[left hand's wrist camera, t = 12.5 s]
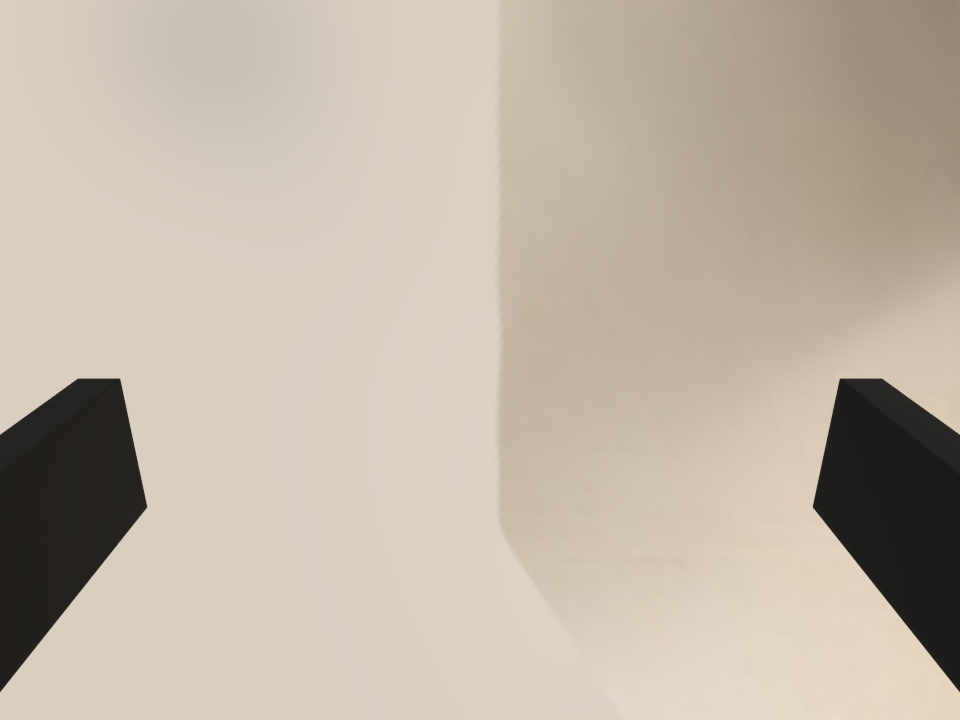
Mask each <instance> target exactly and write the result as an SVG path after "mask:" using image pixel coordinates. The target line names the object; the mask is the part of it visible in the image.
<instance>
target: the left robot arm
mask: <svg viewBox="0 0 960 720" xmlns="http://www.w3.org/2000/svg"><path fill="white" fill-rule="evenodd" d="M146 508H147V504H146V499H145V494H144V490H143V485H142V480H141V475H140V471H139V466H138V461H137V457H136V452H135V447H134V442H133V437H132V433H131V428H130V423H129V418H128V414H127V409H126V404H125V400H124V395H123V390H122V385H121V381H120V379H77V380H76V381H74V382H73V383H71V384H70V385H69V386H67V387H66V388H64V389H63V390H62V391H60V392H59V393H57V394H56V395H55V396H53V397H52V398H51V399H49V400H48V401H46V402H45V403H44V404H42V405H41V406H39V407H38V408H37V409H35V410H34V411H33V412H31V413H30V414H28V415H27V416H26V417H24V418H23V419H21V420H20V421H19V422H17V423H16V424H15V425H13V426H12V427H10V428H9V429H8V430H6V431H5V432H3V433H2V434H1V435H0V692H1V690H2V689H3V688H4V687H5V685H6V684H7V683H8V682H9V680H10V679H11V678H12V677H13V675H14V674H15V673H16V672H17V670H18V669H19V668H20V667H21V665H22V664H23V663H24V661H25V660H26V659H27V658H28V656H29V655H30V654H31V653H32V651H33V650H34V649H35V648H36V646H37V645H38V644H39V643H40V641H41V640H42V639H43V638H44V636H45V635H46V634H47V633H48V631H49V630H50V629H51V628H52V626H53V625H54V624H55V622H56V621H57V620H58V619H59V617H60V616H61V615H62V614H63V612H64V611H65V610H66V609H67V607H68V606H69V605H70V604H71V602H72V601H73V600H74V599H75V597H76V596H77V595H78V594H79V592H80V591H81V590H82V589H83V587H84V586H85V585H86V584H87V582H88V581H89V580H90V579H91V577H92V576H93V575H94V573H95V572H96V571H97V570H98V568H99V567H100V566H101V565H102V563H103V562H104V561H105V560H106V558H107V557H108V556H109V555H110V553H111V552H112V551H113V550H114V548H115V547H116V546H117V545H118V543H119V542H120V541H121V540H122V538H123V537H124V536H125V534H126V533H127V532H128V531H129V529H130V528H131V527H132V526H133V524H134V523H135V522H136V521H137V519H138V518H139V517H140V516H141V514H142V513H143V512H144V511H145V509H146ZM813 508H814V509H815V511H816V512H817V513H818V514H819V516H820V517H821V518H822V519H823V521H824V522H825V523H826V524H827V526H828V527H829V528H830V529H831V531H832V532H833V533H834V535H835V536H836V537H837V538H838V540H839V541H840V542H841V543H842V545H843V546H844V547H845V548H846V550H847V551H848V552H849V553H850V555H851V556H852V557H853V558H854V560H855V561H856V562H857V563H858V565H859V566H860V567H861V568H862V570H863V571H864V572H865V573H866V575H867V576H868V577H869V579H870V580H871V581H872V582H873V584H874V585H875V586H876V587H877V589H878V590H879V591H880V592H881V594H882V595H883V596H884V597H885V599H886V600H887V601H888V602H889V604H890V605H891V606H892V607H893V609H894V610H895V611H896V612H897V614H898V615H899V616H900V617H901V619H902V620H903V621H904V623H905V624H906V625H907V626H908V628H909V629H910V630H911V631H912V633H913V634H914V635H915V636H916V638H917V639H918V640H919V641H920V643H921V644H922V645H923V646H924V648H925V649H926V650H927V651H928V653H929V654H930V655H931V656H932V658H933V659H934V660H935V661H936V663H937V664H938V665H939V667H940V668H941V669H942V670H943V672H944V673H945V674H946V675H947V677H948V678H949V679H950V680H951V682H952V683H953V684H954V685H955V687H956V688H957V689H958V690H959V692H960V435H959V434H958V433H957V432H955V431H954V430H952V429H951V428H950V427H948V426H947V425H946V424H944V423H943V422H941V421H940V420H939V419H937V418H936V417H934V416H933V415H932V414H930V413H929V412H927V411H926V410H925V409H923V408H922V407H921V406H919V405H918V404H916V403H915V402H914V401H912V400H911V399H909V398H908V397H907V396H905V395H904V394H903V393H901V392H900V391H898V390H897V389H896V388H894V387H893V386H891V385H890V384H889V383H887V382H886V381H884V380H883V379H840V381H839V385H838V390H837V395H836V400H835V404H834V409H833V414H832V418H831V423H830V428H829V433H828V437H827V442H826V447H825V452H824V456H823V461H822V466H821V471H820V475H819V480H818V485H817V489H816V494H815V499H814V504H813Z"/></svg>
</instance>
